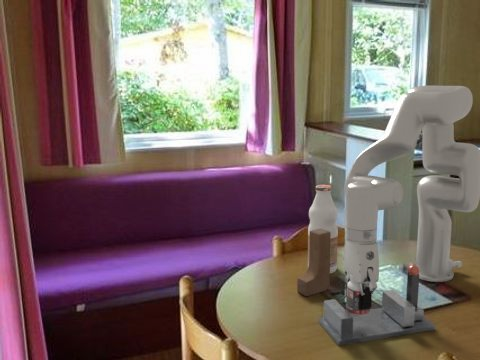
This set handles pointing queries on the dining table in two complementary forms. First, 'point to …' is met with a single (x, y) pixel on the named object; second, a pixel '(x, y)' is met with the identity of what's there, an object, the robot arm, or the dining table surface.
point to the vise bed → (365, 325)
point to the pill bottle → (355, 298)
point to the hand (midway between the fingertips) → (358, 302)
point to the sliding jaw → (404, 301)
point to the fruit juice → (324, 220)
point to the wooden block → (316, 264)
